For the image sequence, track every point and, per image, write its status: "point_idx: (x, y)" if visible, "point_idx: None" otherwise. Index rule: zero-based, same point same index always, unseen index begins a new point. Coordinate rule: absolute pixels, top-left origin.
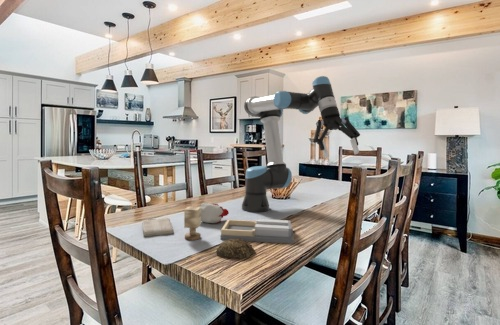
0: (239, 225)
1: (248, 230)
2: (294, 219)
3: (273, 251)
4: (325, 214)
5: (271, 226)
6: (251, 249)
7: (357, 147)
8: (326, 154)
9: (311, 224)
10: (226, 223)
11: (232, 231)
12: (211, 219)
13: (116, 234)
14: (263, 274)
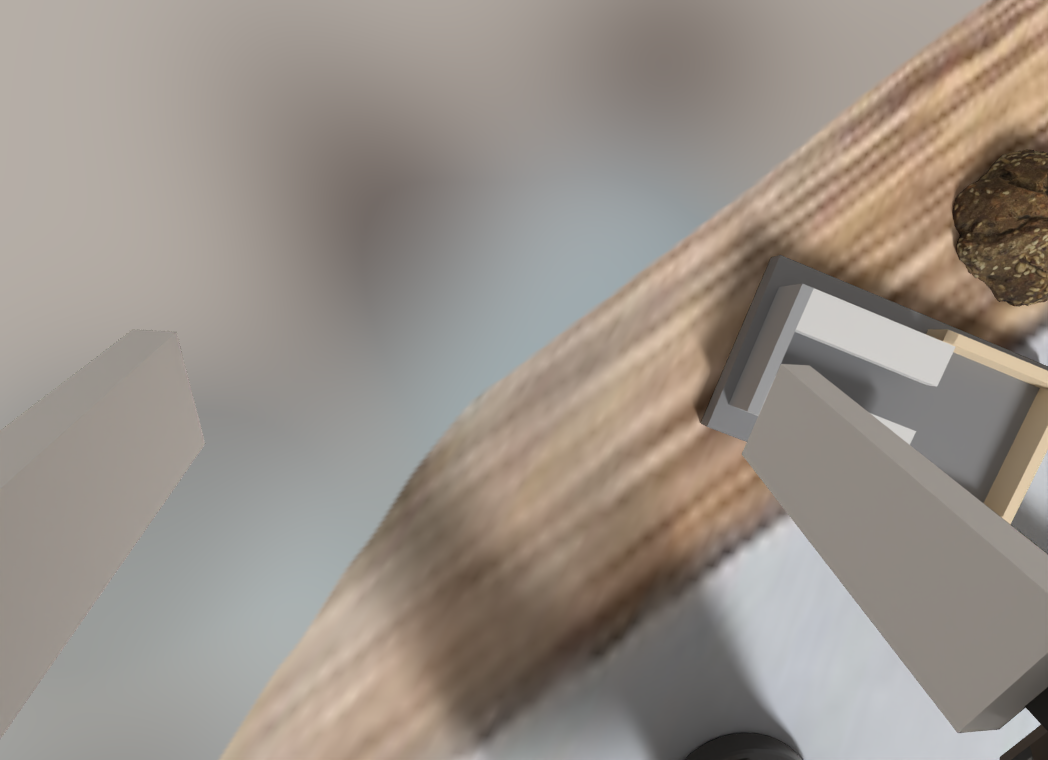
0: None
1: (968, 349)
2: (614, 580)
3: (884, 197)
4: (403, 640)
5: (879, 335)
6: (991, 186)
7: (72, 385)
8: (827, 389)
9: (568, 488)
10: (1032, 468)
11: (1029, 365)
12: None
13: None
14: (995, 12)
